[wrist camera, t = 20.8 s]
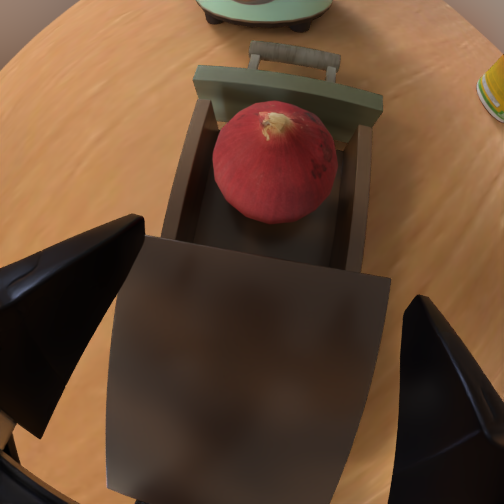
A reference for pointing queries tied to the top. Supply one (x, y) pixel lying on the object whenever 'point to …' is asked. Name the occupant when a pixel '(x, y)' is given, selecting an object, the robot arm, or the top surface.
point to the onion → (275, 162)
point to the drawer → (308, 98)
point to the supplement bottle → (493, 89)
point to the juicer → (265, 12)
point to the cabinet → (237, 375)
